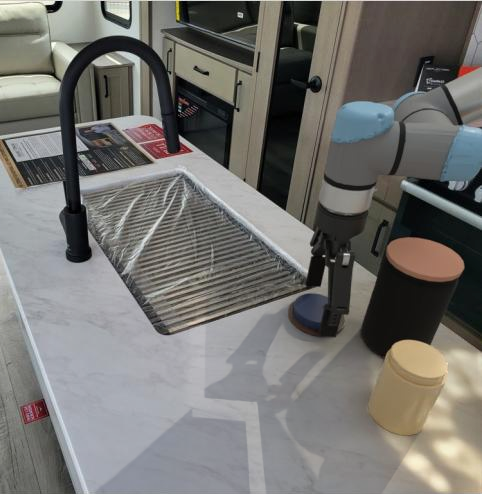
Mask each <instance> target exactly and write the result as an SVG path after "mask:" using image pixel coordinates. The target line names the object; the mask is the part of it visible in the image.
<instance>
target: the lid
mask: <svg viewBox="0 0 482 494" xmlns="http://www.w3.org/2000/svg"><path fill="white" fill-rule="evenodd" d="M294 301H295V303H294V305H293V315H294V317H295V318H296V320H297V321H298V322H299V323H301V324H302V325H304V326H306V327H308V328H311V329H315V330H319V328H320V324H321V320H322V316H323V312H324V309H323V306H325V304H328V295H327V296H326V295H323V294H320V293H314V292H313V293H311V292H310V293H309V292H308V293H304V294H301V295H299V296H298V297H297V298H295V300H294Z"/></svg>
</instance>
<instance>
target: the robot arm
mask: <svg viewBox="0 0 482 494" xmlns="http://www.w3.org/2000/svg"><path fill="white" fill-rule="evenodd" d="M481 121H482V66H481V67H479V68H476V69H474V70H472V71H470V72H468V73H466V74H464V75H462V76H459V77H457V78H455V79H454V80H451V81H449V82H447V83H445V84H442V85H440V86H438V87H436V88H433V89H431V90H429V91H427V92H426V91H411V92H408V93H405V94H404V95H402V96H400V97H399V98H398V99H397V100H396V101H395V102H394V103H393V105H392V107H390V106H389V105H386V104H384V103H378V102H374V101H366V100H365V101H363V100H359V101H352V102H347V103H345V104H343V105H342V106H341V107H340V108H339V109H338V111H337V113H336V116H335V120H334V123H333V128H332V132H331V133H330V140H329V145H328V151H327V157H326V161H325V166H324V173H323V175H322V181H321V185H320V190H319V195H318V203H317V207H316V212H315V217H314V223H315V226H316V227H315V230H314V232H313V234H312V237H311V239H310V241H309V246H310V247H311V250H310V253H311V256H310V261H309V265H308V270H307V276H306V280H305V287H313V288H316V287H317V288H321V287H322V283H323V278H324V274H325V270H326V267H327V297H328V304H325V306H323V309H324V312H323V316H322V320H321V324H320V328H319V333H318V334H319V336H318V337H320V336H325V337H327V338H328V337H329V338H337V330H338V327H339V323H340V319H341V316H342V315H344V316H348V315H350V306H351V296H352V295H351V294H352V284H353V271H354V265H355V261H356V253H355V252H351V250H352V241H351V239H353V238H354V237H357V236H359V235H361V234H362V233H363V232H364V230H365V227H366V223H367V220H368V215H369V210H370V209H369V208H370V207H371V203H372V200H373V196H374V193H377V191H378V187H377V186H376V185H377V181H378V178H379V176H380V175H382V176H383V175H384V176H396V177H405V178H414V179H423V180H431V181H432V180H434V181H440V182H462V183H463V182H468V181H471V180H472V179H474V178H475V177H476V176H477V175H478V174H479V173H480V170H481V169H482V128H480V127H476V126H475V127H474V126H472V125H474V124H477V123H479V122H481ZM325 337H324V338H325Z"/></svg>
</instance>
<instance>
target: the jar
mask: <svg viewBox="0 0 482 494" xmlns="http://www.w3.org/2000/svg"><path fill="white" fill-rule="evenodd" d="M448 372H449V363H448V361H447V359H446V357H445V356H444V355H443V354H442V353H441V352H440V351H439V350H438V349H436V348H435V347H433V346H432V345H428V344H426V343H423V342H420V341H415V340H402V341H399V342H397V343H395V344H394V345H393V346H392V348H391V349H390V350H389V351H388V352H387V354H386V357H384V360H383V362H382V365H381V367H380V370H379V373H378V375H377V377H376V381H375V384H374V386H373V388H372V391H371V394H370V396H369V400H368V403H367V407H368V411H369V414H370V415H371V417H372V419H373V420H374V421H375V422H376V423H377V424H378V425H379V426H381V428H382V429H385V430H387V431H389V432H391V433H393V434H395V435H399V436H414V435H416V434H419V433H420V432H421V431H422V430H423V429H424V427H425V425H426V423H427V421H428V419H429V417H430V415H431V413H432V411H433V409H434V407H435V405H436V403H437V401H438V398H439V397H440V395H441V393H442V391H443V389H444V387H445V385H446V383H447V380H448Z"/></svg>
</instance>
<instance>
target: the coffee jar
mask: <svg viewBox="0 0 482 494" xmlns="http://www.w3.org/2000/svg"><path fill="white" fill-rule="evenodd" d="M464 262H465V261H464V260H463V259H462V257H461V256H460V255H459V254H458V253H457V252H456V251H454V250H453V249H452V248H451V247H448V246H446V245H444V244H442V243H439V242H436V241H433V240H432V239H431V240H430V239H427V238H421V237H409V236H408V237H407V236H406V237H400V238H397V239H394V240H392V241H390V242H389V244H388V245H386V251H385V256H384V258H382V261H381V264H380V267H379V270H378V274H377V277H376V279H375V283H374V286H373V289H372V292H371V295H370V298H369V301H368V304H367V308H366V311H365V314H364V316H363V320H362V322H361V323H362V324H361V329H360V331H361V335H362V338H363V340H364V342H365V344H366V345H367V346H368V348H369V349H370V350H371V351H373V352H374V353H376V355H379V356H380V357H383V358H385V357H386V354H387V352H388V351H389V350H390V349H391V348H392V346H393V345H394V344H395V343H397V342H399V341H402V340H415V341H420V342H423V343H426V344H428V345H430V346H432V343H433V340H434V339H435V336H436V333H437V331H438V329H439V327H440V325H441V322H442V320H443V317H444V316H445V313H446V311H447V309H448V307H449V305H450V302H451V301H452V297H453V296H454V293H455V291H456V288H457V286H458V284H459V277H460V276H461V275H462V273H463V271H464V270H465V263H464Z"/></svg>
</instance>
